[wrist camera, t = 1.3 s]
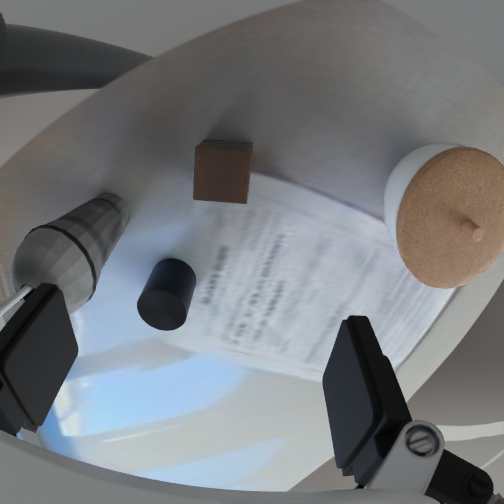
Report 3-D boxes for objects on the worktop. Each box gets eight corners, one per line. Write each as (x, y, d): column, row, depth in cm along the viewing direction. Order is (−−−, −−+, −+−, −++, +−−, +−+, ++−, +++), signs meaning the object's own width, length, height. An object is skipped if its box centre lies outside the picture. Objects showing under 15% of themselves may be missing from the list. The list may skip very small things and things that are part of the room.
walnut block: (201, 185, 31) (193, 200, 27) (203, 139, 29) (195, 146, 25) (248, 189, 31) (247, 204, 27) (252, 142, 29) (252, 151, 25)
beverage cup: (103, 254, 34) (10, 386, 16) (70, 199, 31) (-55, 306, 13) (154, 229, 33) (67, 375, 15) (120, 168, 30) (-15, 270, 12)
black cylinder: (153, 294, 37) (139, 327, 31) (151, 256, 34) (134, 286, 29) (196, 298, 37) (187, 333, 31) (196, 260, 34) (186, 292, 29)
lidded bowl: (481, 165, 29) (545, 199, 19) (432, 259, 34) (479, 315, 24) (396, 109, 27) (460, 122, 17) (344, 221, 32) (380, 278, 22)
